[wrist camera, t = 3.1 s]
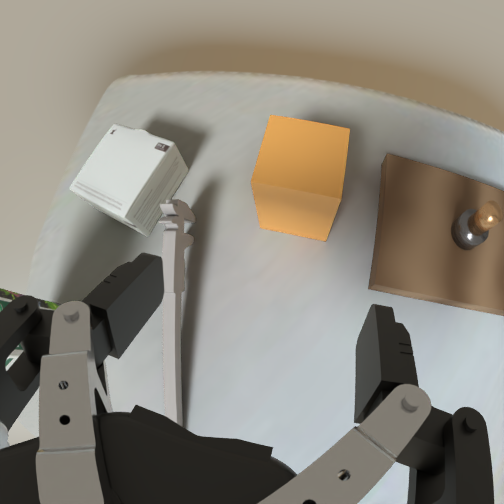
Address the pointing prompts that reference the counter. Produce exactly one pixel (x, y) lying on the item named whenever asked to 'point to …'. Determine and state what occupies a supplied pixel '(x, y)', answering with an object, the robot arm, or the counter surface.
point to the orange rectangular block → (300, 176)
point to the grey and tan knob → (475, 225)
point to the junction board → (435, 238)
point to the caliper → (173, 301)
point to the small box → (131, 176)
